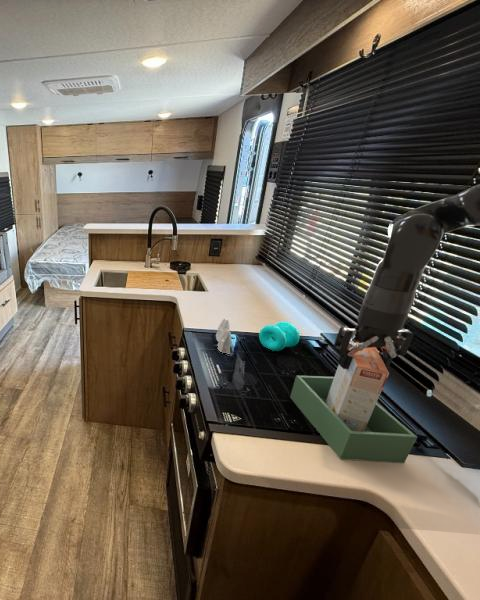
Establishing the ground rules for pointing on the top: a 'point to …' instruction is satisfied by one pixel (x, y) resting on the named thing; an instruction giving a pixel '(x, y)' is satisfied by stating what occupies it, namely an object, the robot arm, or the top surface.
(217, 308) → the top surface
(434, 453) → the top surface
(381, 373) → the cracker box
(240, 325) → the top surface
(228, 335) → the grey jagged slab
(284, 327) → the donuts
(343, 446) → the tote
